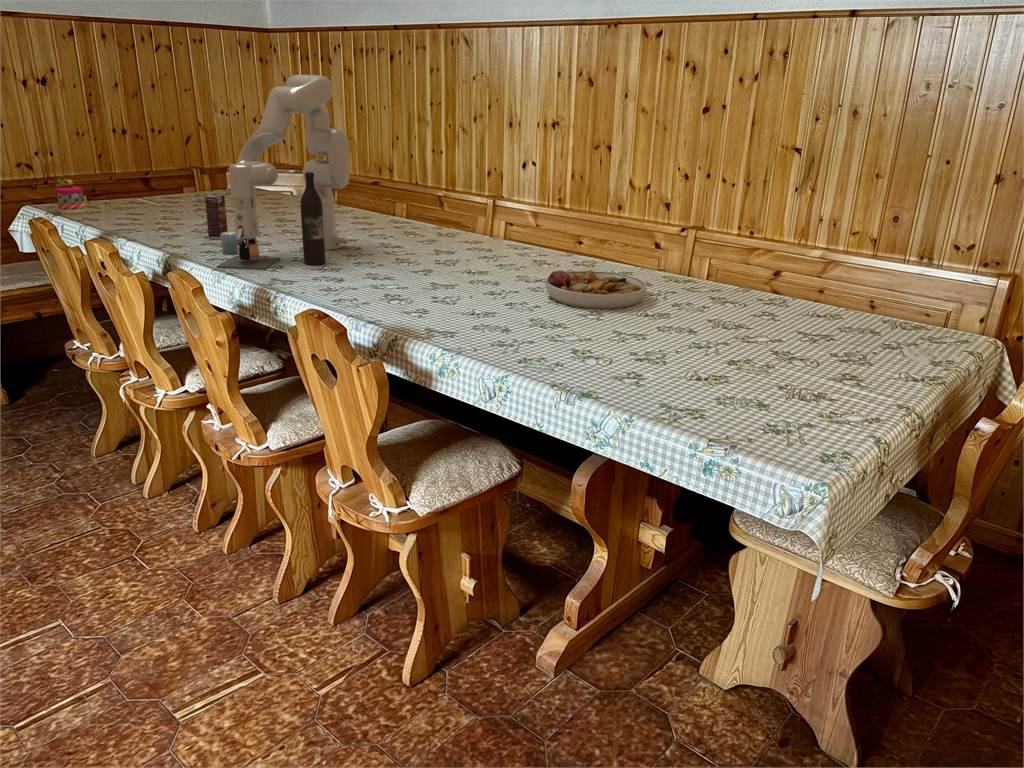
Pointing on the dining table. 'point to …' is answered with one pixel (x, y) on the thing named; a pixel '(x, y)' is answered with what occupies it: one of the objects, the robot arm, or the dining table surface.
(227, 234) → the gray cylinder
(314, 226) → the wine bottle
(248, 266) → the mat
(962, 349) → the dining table surface
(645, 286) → the bowl
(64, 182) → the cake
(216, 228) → the supplement box
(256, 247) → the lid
